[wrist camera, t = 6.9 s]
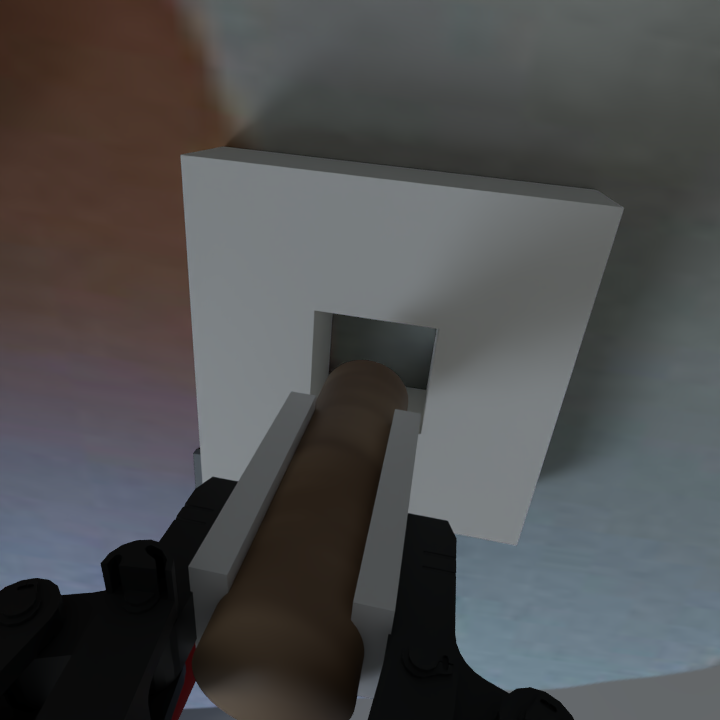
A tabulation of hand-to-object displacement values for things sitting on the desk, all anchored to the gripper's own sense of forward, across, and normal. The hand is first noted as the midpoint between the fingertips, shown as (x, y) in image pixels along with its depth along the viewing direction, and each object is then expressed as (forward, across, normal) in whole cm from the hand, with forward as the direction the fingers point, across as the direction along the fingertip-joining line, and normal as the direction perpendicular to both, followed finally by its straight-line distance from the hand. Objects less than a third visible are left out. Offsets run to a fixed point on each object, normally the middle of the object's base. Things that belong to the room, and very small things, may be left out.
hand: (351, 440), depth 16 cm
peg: (+3, 0, 0) cm, 3 cm away
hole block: (+8, 0, 0) cm, 8 cm away
